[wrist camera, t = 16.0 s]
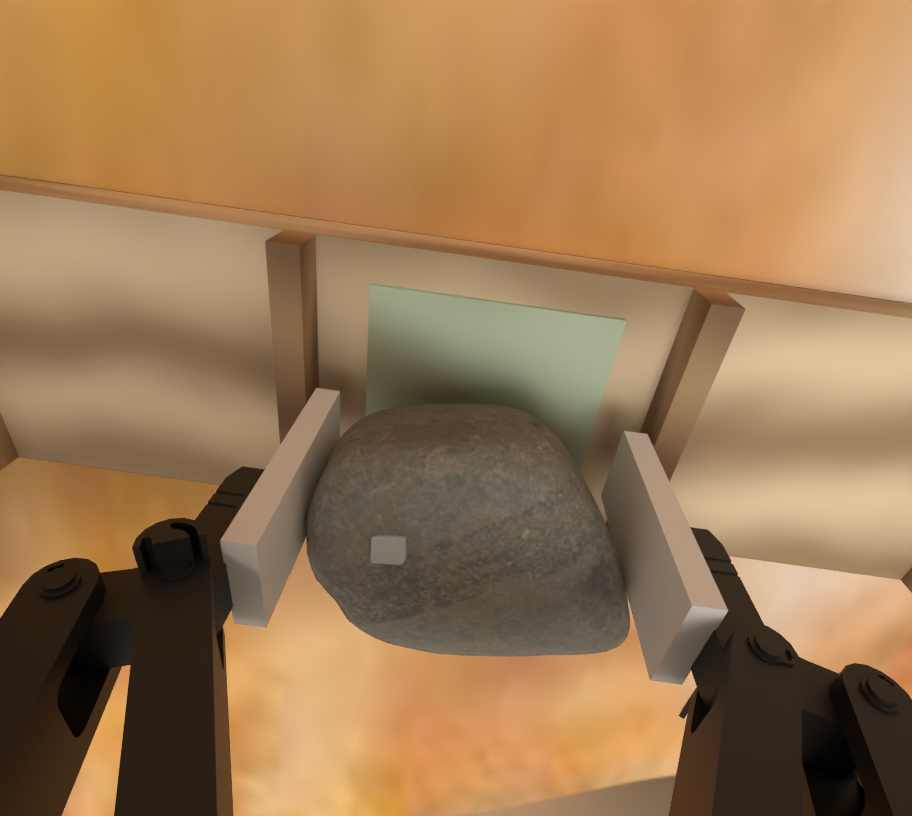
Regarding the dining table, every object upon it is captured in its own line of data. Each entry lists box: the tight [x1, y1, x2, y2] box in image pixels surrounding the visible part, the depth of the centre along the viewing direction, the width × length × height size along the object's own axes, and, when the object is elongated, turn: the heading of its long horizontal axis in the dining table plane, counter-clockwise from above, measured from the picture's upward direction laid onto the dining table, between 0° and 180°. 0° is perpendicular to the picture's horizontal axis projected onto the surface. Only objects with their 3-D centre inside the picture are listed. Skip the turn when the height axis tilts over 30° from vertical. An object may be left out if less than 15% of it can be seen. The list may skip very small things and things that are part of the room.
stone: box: [306, 403, 630, 657], centre depth 17 cm, size 9×9×10 cm
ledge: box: [0, 175, 912, 592], centre depth 19 cm, size 11×40×4 cm, turn 83°
